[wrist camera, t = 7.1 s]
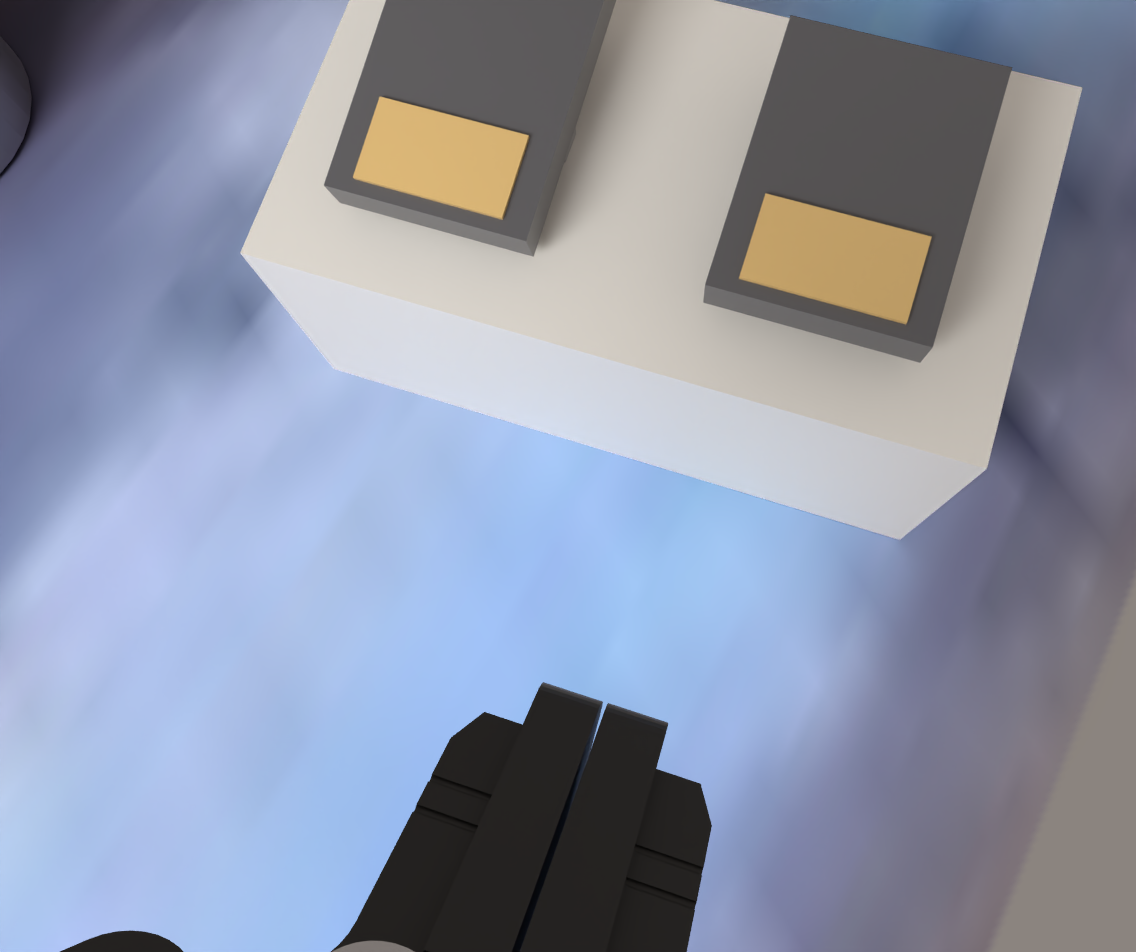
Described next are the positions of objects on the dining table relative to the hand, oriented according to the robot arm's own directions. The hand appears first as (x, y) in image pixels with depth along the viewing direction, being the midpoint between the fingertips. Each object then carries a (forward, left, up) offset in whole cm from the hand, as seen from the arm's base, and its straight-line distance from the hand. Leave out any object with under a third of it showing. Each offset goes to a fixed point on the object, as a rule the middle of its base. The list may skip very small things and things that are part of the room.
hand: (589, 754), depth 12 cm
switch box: (-14, +9, -26) cm, 30 cm away
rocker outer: (-10, +12, -14) cm, 21 cm away
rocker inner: (-18, +5, -14) cm, 23 cm away
